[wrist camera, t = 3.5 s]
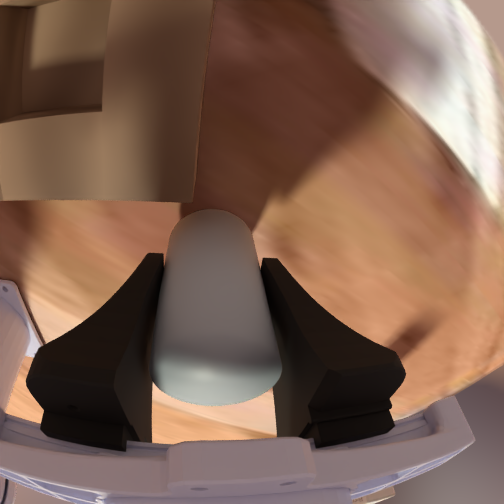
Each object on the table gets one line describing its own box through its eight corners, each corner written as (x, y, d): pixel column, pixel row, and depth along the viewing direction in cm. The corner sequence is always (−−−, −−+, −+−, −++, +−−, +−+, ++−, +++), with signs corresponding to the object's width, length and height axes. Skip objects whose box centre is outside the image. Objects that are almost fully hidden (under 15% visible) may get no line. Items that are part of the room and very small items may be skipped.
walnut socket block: (-11, 178, 12) (-42, 202, 9) (-4, -27, 5) (-37, -33, 3) (196, 175, 14) (192, 203, 11) (229, -69, 7) (233, -98, 5)
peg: (169, 279, 15) (156, 403, 9) (168, 206, 13) (140, 330, 7) (248, 282, 16) (269, 404, 10) (259, 211, 14) (295, 333, 8)
